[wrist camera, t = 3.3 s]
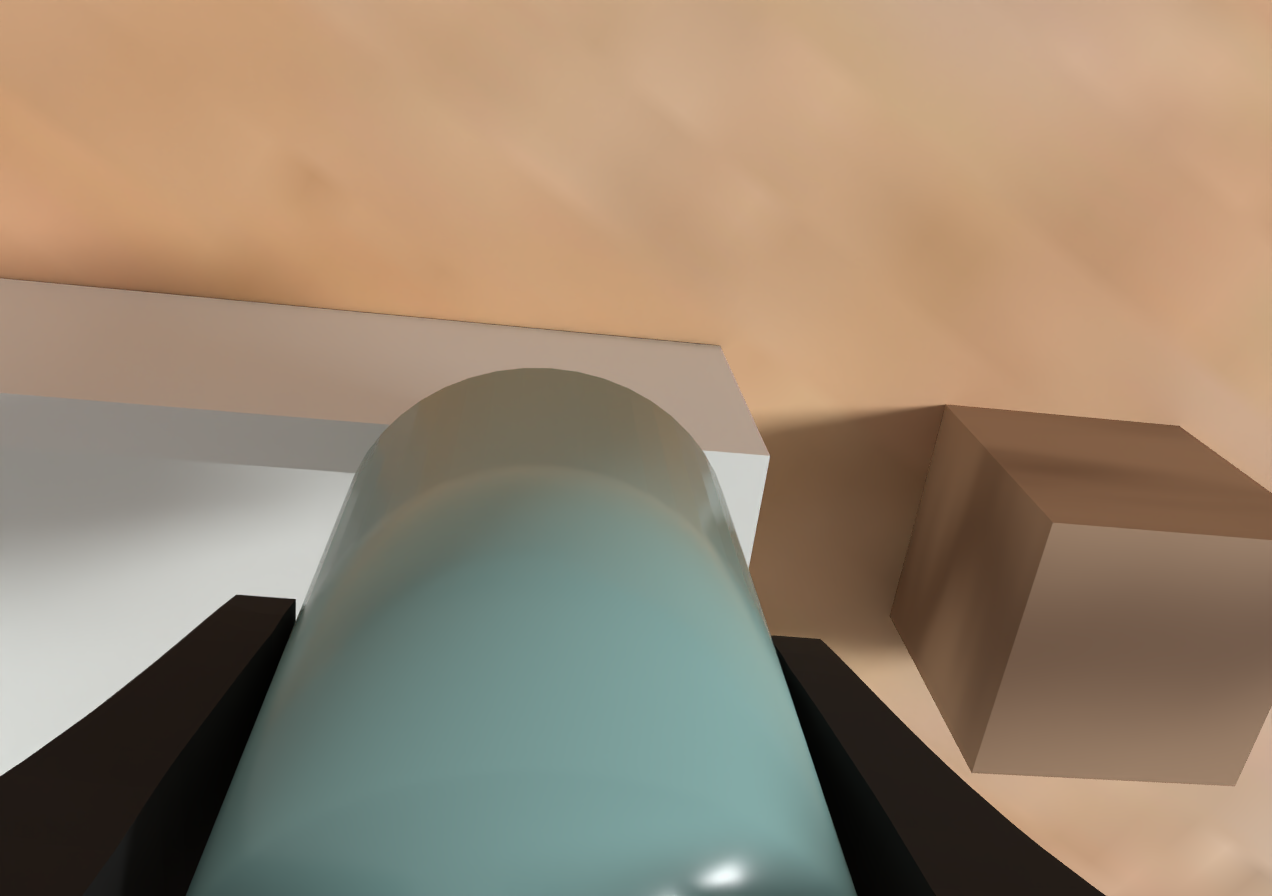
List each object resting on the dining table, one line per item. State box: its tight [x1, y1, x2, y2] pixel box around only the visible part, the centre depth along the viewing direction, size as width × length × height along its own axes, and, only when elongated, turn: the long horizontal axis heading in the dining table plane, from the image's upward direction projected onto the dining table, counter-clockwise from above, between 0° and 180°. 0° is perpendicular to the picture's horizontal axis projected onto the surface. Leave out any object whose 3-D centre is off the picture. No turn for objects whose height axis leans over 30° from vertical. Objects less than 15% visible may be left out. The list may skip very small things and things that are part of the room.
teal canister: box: [186, 368, 857, 896], centre depth 10 cm, size 5×5×7 cm
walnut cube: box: [890, 405, 1272, 786], centre depth 20 cm, size 5×5×5 cm
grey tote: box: [0, 278, 770, 776], centre depth 19 cm, size 14×18×5 cm
